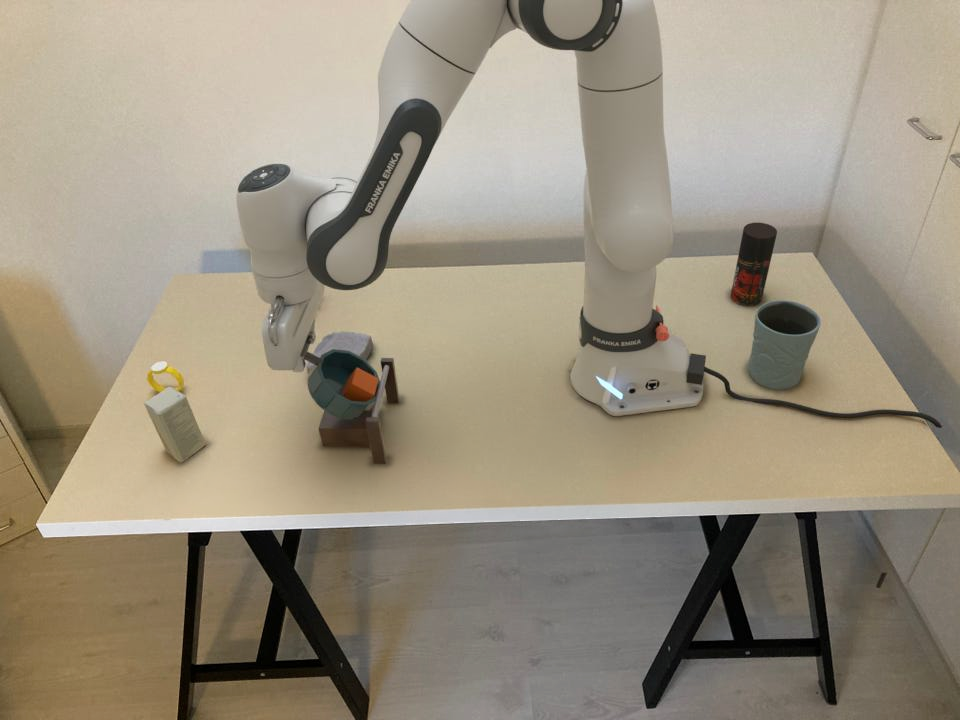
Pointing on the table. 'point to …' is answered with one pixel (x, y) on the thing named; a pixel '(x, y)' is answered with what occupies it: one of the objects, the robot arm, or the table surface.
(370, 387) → the block
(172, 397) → the box
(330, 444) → the stand
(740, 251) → the deodorant
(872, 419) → the table surface
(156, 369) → the watch
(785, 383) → the grey green cup
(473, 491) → the table surface
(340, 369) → the bowl
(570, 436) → the table surface
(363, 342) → the stone block
